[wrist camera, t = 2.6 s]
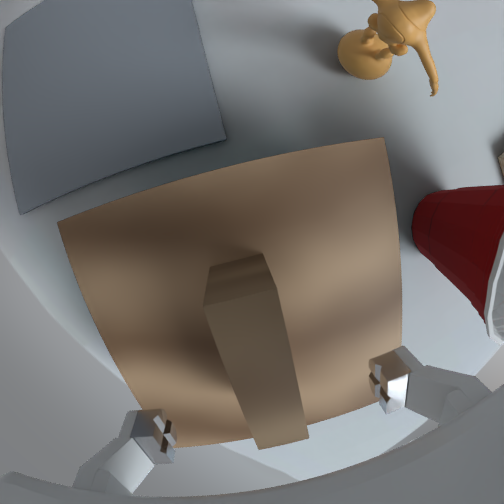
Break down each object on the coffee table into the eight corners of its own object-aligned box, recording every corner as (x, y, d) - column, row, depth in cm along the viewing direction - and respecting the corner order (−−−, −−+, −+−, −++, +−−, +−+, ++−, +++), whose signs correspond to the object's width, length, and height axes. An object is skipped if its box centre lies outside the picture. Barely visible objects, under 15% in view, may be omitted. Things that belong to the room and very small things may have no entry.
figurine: (401, 93, 19) (511, 60, 7) (353, 130, 19) (467, 105, 8) (335, 15, 17) (407, -68, 5) (280, 46, 17) (330, -55, 6)
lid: (66, 218, 13) (6, 242, 8) (374, 138, 13) (436, 129, 8) (171, 438, 17) (163, 493, 12) (391, 384, 17) (423, 431, 12)
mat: (8, 29, 13) (5, 27, 13) (178, -52, 13) (177, -55, 13) (23, 213, 19) (20, 215, 18) (226, 139, 19) (226, 138, 18)
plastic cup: (405, 305, 24) (488, 381, 12) (368, 196, 21) (484, 228, 9) (480, 249, 23) (567, 290, 12) (456, 147, 20) (563, 152, 9)
